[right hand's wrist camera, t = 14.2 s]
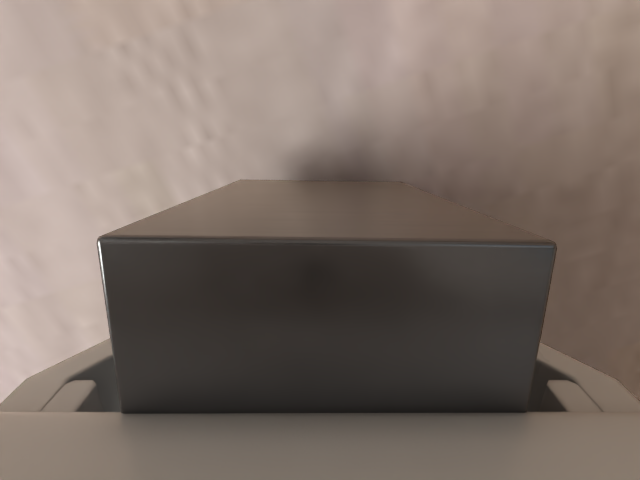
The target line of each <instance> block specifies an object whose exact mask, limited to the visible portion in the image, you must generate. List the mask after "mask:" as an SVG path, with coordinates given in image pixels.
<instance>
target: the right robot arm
mask: <svg viewBox="0 0 640 480" xmlns="http://www.w3.org/2000/svg"><path fill="white" fill-rule="evenodd" d="M0 480H640V401H639V400H638V399H637V398H636V397H635V396H634V395H633V394H632V393H631V392H629V391H628V390H627V389H626V388H625V387H624V386H623V385H622V384H621V383H620V382H619V381H618V380H617V379H615V378H613V377H611V376H609V375H607V374H605V373H603V372H601V371H599V370H596V369H594V368H592V367H590V366H588V365H586V364H584V363H582V362H580V361H578V360H576V359H574V358H572V357H570V356H568V355H565V354H563V353H561V352H559V351H557V350H555V349H553V348H551V347H549V346H547V345H545V344H543V343H541V342H540V344H539V349H538V355H537V360H536V366H535V371H534V377H533V382H532V387H531V393H530V398H529V404H528V409H527V412H526V413H220V414H123V413H121V409H120V402H119V395H118V388H117V381H116V374H115V367H114V360H113V353H112V346H111V339H108V340H106V341H103V342H101V343H99V344H97V345H95V346H93V347H91V348H89V349H87V350H85V351H83V352H81V353H79V354H77V355H75V356H73V357H70V358H68V359H66V360H64V361H62V362H60V363H58V364H56V365H54V366H52V367H50V368H48V369H46V370H44V371H42V372H39V373H37V374H35V375H33V376H31V377H29V378H27V379H26V380H25V381H24V382H23V383H22V384H21V385H20V386H19V387H17V388H16V389H15V390H14V391H13V392H12V393H11V394H10V395H9V396H8V397H7V398H6V399H5V400H4V401H3V402H2V403H1V404H0Z"/></svg>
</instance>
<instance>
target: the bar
mask: <svg viewBox="0 0 640 480" xmlns="http://www.w3.org/2000/svg"><path fill="white" fill-rule="evenodd" d="M97 248H98V255H99V262H100V269H101V276H102V283H103V290H104V297H105V304H106V311H107V318H108V325H109V332H110V339H111V346H112V353H113V360H114V367H115V374H116V381H117V388H118V395H119V402H120V409H121V413H123V414H220V413H526V412H527V409H528V404H529V398H530V393H531V387H532V382H533V377H534V371H535V366H536V360H537V355H538V349H539V344H540V338H541V333H542V327H543V322H544V316H545V311H546V305H547V300H548V294H549V289H550V284H551V278H552V273H553V267H554V262H555V256H556V251H557V246H556V243H555V242H553V241H551V240H548V239H546V238H543V237H541V236H538V235H536V234H533V233H531V232H528V231H525V230H523V229H520V228H518V227H515V226H513V225H510V224H508V223H505V222H502V221H500V220H497V219H495V218H492V217H490V216H487V215H485V214H482V213H479V212H477V211H474V210H472V209H469V208H467V207H464V206H462V205H459V204H456V203H454V202H451V201H449V200H446V199H444V198H441V197H439V196H436V195H433V194H431V193H428V192H426V191H423V190H421V189H418V188H416V187H413V186H410V185H408V184H405V183H403V182H374V181H302V180H238V181H236V182H233V183H231V184H228V185H226V186H224V187H221V188H219V189H216V190H214V191H211V192H209V193H206V194H204V195H201V196H199V197H196V198H194V199H191V200H189V201H186V202H184V203H181V204H179V205H176V206H174V207H172V208H169V209H167V210H164V211H162V212H159V213H157V214H154V215H152V216H149V217H147V218H144V219H142V220H139V221H137V222H134V223H132V224H129V225H127V226H124V227H122V228H119V229H117V230H115V231H112V232H110V233H107V234H105V235H102V236H100V237H99V238H98V240H97Z"/></svg>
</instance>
